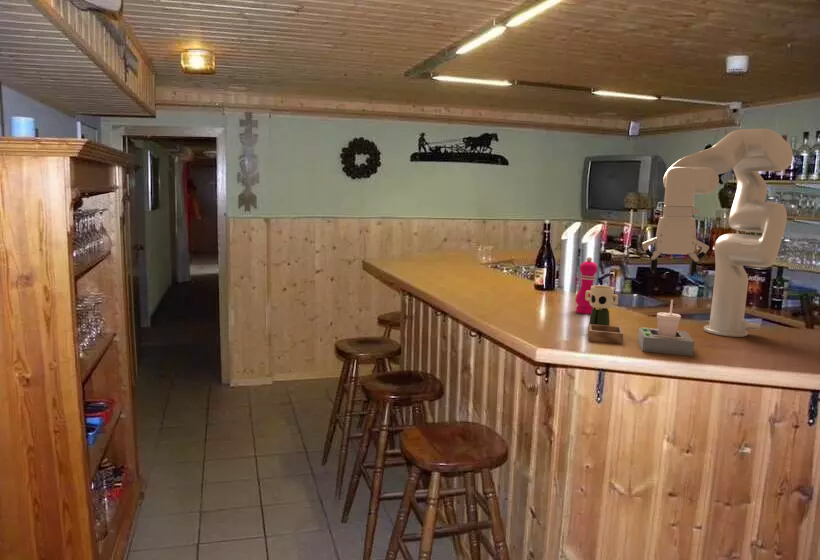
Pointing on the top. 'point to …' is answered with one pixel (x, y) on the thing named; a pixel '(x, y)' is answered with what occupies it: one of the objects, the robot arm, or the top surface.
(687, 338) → the box
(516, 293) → the top surface
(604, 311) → the character mug
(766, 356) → the top surface
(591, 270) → the pepper mill
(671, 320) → the smoothie
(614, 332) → the wooden tray
